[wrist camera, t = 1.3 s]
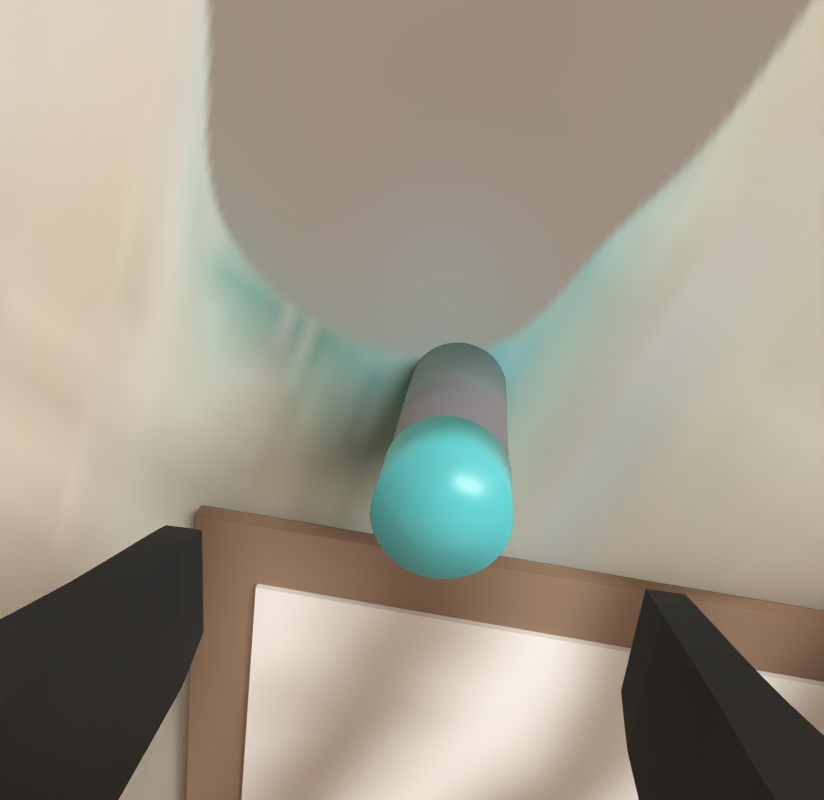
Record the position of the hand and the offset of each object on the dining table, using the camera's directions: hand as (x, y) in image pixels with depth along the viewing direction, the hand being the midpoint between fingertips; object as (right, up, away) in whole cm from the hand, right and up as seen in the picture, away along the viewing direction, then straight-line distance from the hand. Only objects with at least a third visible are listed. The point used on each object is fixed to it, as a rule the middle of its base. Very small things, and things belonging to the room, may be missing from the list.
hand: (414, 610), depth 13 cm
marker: (+1, +4, +9) cm, 9 cm away
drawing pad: (+4, -10, +14) cm, 17 cm away
